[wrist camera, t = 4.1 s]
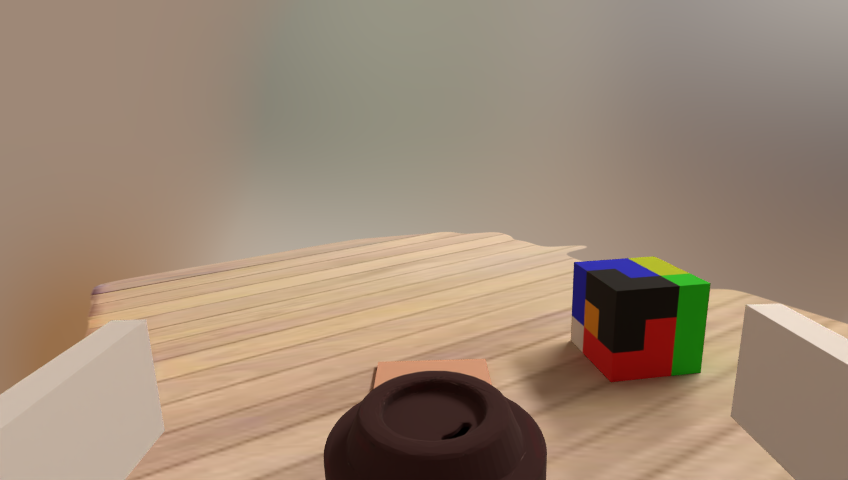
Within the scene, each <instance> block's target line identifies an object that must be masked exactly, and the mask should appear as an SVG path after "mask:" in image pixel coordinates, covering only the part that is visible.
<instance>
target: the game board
mask: <svg viewBox="0 0 848 480" xmlns="http://www.w3.org/2000/svg"><path fill="white" fill-rule="evenodd" d="M421 371H451V372H458V373H462V374H466V375H470V376H474V377H477V378H479V379H481V380H483V381H486V382H487V383H489V384H491V380H490V376H489V371H488V367H487V363H486V359H461V360H428V361H395V362H378V367H377V372H376V378H375V384H374V388H375V387H377V386H379V385H380V384H382V383H384V382H386V381H388V380H390V379H393V378H395V377H398V376H401V375H405V374H410V373H415V372H421ZM491 385H492V384H491Z"/></svg>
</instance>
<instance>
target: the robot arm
mask: <svg viewBox="0 0 848 480" xmlns="http://www.w3.org/2000/svg"><path fill="white" fill-rule="evenodd" d="M731 417H732V418H733V419H734V420H735V421H736V422H737V423H738V424H739V425H740V426H741V427H742V428H743V429H744V430H745V431H746V432H747V433H748V434H749V435H750V436H751V437H752V438H753V439H754V440H755V441H756V442H757V443H759V444H760V445H761V446H762V447H763V448H764V449H765V450H766V451H767V452H768V453H769V454H770V455H771V456H772V457H773V458H774V459H775V460H776V461H777V462H778V463H779V464H780V465H781V466H782V467H783V468H784V469H785V470H786V471H787V472H788V473H789V474H790V475H791V476H792V477H793V478H794V479H795V480H848V339H847V338H845V337H843V336H841V335H839V334H837V333H835V332H834V331H832V330H830V329H828V328H826V327H824V326H822V325H820V324H818V323H817V322H815V321H813V320H811V319H809V318H807V317H805V316H803V315H801V314H800V313H798V312H796V311H794V310H792V309H790V308H788V307H786V306H784V305H783V304H746V307H745V315H744V322H743V329H742V337H741V344H740V352H739V359H738V367H737V374H736V381H735V389H734V396H733V404H732V411H731ZM164 431H165V429H164V423H163V417H162V411H161V405H160V399H159V393H158V387H157V381H156V375H155V369H154V363H153V357H152V351H151V345H150V339H149V333H148V327H147V321H146V320H111V321H110V322H108V323H107V324H105V325H104V326H102V327H101V328H99V329H98V330H96V331H95V332H93V333H92V334H90V335H89V336H87V337H86V338H84V339H83V340H81V341H80V342H78V343H77V344H75V345H74V346H72V347H71V348H69V349H68V350H66V351H65V352H63V353H62V354H60V355H59V356H57V357H56V358H54V359H53V360H51V361H50V362H49V363H47V364H45V365H44V366H42V367H41V368H39V369H38V370H36V371H35V372H33V373H32V374H30V375H29V376H28V377H26V378H24V379H23V380H21V381H20V382H19V383H17V384H15V385H14V386H13V387H11V388H10V389H8V390H7V391H5V392H4V393H2V394H1V395H0V480H125V479H126V478H127V476H128V475H129V474H130V473H131V472H132V470H133V469H134V468H135V467H136V465H137V464H138V463H139V462H140V460H141V459H142V458H143V457H144V455H145V454H146V453H147V452H148V450H149V449H150V448H151V447H152V446H153V444H154V443H155V442H156V441H157V439H158V438H159V437H160V436H161V434H162V433H163V432H164Z"/></svg>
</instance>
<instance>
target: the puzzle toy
mask: <svg viewBox="0 0 848 480" xmlns="http://www.w3.org/2000/svg"><path fill="white" fill-rule="evenodd" d="M709 292H710V283H708V282H706V281H704V280H702V279H700V278H698V277H696V276H694V275H692V274H690V273H688V272H685V271H683V270H681V269H679V268H677V267H675V266H673V265H671V264H669V263H667V262H665V261H663V260H660V259H658V258H656V257H640V258H627V259H613V260H600V261H585V262H574V278H573V301H572V325H571V341H572V342H573V343H574V344H575V345H576V346H577V347H578V348H579V349H580V351H581V352H582V353H583V354H584V355H585V356H586V357H587V358H588V359H589V360H590V361H591V362H592V363H593V364H594V365H595V366H596V367H597V368H598V369H599V370H600V371H601V372H602V373H603V375H604V376H605V377H606V378H607V379H608V380H609V381H610V382H617V381H626V380H636V379H645V378H655V377H664V376H674V375H683V374H693V373H701V364H702V355H703V346H704V337H705V328H706V319H707V310H708V301H709Z"/></svg>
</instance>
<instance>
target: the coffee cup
mask: <svg viewBox="0 0 848 480" xmlns="http://www.w3.org/2000/svg"><path fill="white" fill-rule="evenodd" d="M546 461H547V449H546V443H545V439H544V437H543V434H542V432H541V430H540V428H539V426H538V425H537V423H536V422H535V421H534V419H533V418H532V417H531V416H530V415H529V414H528V413H527V412H526V411H525V410H524V409H522V408H521V407H520V406H519V405H518V404H516V403H515V402H513V401H511V400H509V399H508V398H506V397H504V396H503V395H502V393H501V392H500V391H499V390H497V389H496V388H495V387H493V386H492V385H491V384H489V383H487V382H486V381H483V380H481V379H479V378H477V377H474V376H470V375H466V374H462V373H458V372H451V371H421V372H415V373H410V374H405V375H401V376H398V377H395V378H393V379H390V380H388V381H386V382H384V383H382V384H380V385H379V386H377V387H375V388H374V389H373V390H372V391H371V392H370V393H369V394H368V395H367V396H366V397H365V398H364V399H363V401H361V402H360V403H358V404H357V405H355V406H353V407H352V408H351V409H350V410H349V411H347V412H346V413H345V414H344V415H343V416H342V417H341V418H340V419H339V420H338V421H337V423H336V424H335V426H334V427H333V429H332V430H331V432H330V434H329V436H328V438H327V441H326V444H325V449H324V468H325V478H326V480H546Z"/></svg>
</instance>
